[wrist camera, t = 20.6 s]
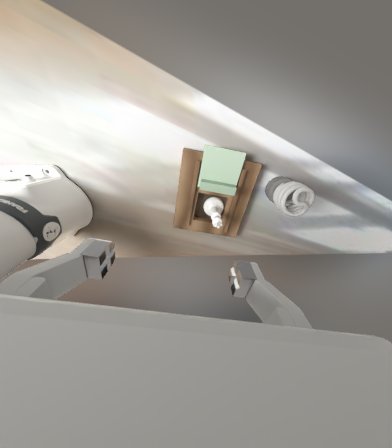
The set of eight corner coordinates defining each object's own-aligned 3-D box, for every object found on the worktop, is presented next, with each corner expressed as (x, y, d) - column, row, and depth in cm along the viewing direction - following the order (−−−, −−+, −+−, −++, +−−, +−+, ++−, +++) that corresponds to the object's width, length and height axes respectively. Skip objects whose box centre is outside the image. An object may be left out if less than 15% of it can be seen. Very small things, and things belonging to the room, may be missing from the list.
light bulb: (287, 189, 36) (323, 211, 26) (264, 200, 38) (288, 225, 27) (281, 167, 34) (318, 181, 24) (256, 180, 35) (280, 198, 25)
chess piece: (202, 197, 37) (204, 216, 28) (223, 196, 37) (231, 214, 28) (203, 216, 40) (205, 238, 31) (223, 215, 39) (230, 237, 31)
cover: (197, 185, 34) (197, 190, 31) (205, 144, 30) (205, 145, 27) (233, 192, 34) (236, 197, 31) (245, 152, 30) (250, 154, 27)
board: (174, 222, 41) (172, 228, 38) (184, 147, 32) (182, 149, 30) (233, 232, 42) (235, 239, 39) (257, 162, 34) (263, 165, 31)
